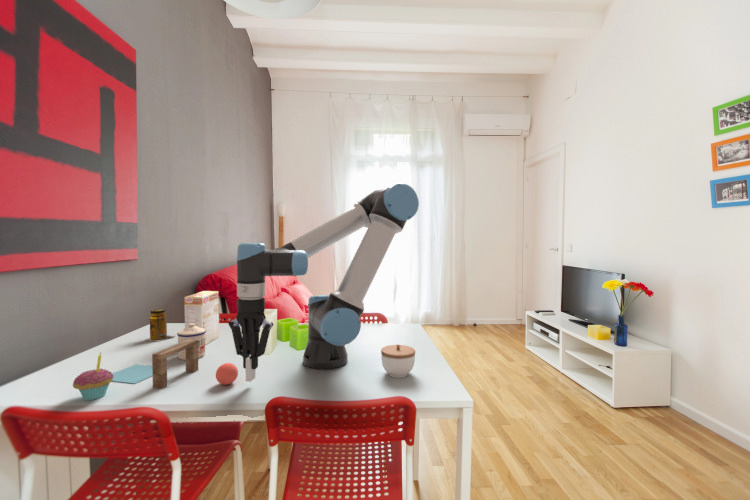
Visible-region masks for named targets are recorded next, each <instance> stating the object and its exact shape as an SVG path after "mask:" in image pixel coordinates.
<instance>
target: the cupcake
mask: <svg viewBox="0 0 750 500" xmlns="http://www.w3.org/2000/svg"><path fill="white" fill-rule="evenodd" d="M101 362H102V352H100V353H99V354H98V355H97V363H96V369H92V370H91V369H90V370H86V371H83V372H81V373H80V374H79V375H77V376H76V377H75V378H74V379H73V383H72V388H74V389H76V390H78V391H79V392H80V395H81V397H82V400H84V401H93V400H94V399H95V400H98V398H99V399H101V398H103V397H105V396H106V394H107V390H108V388H109V386H110V383H113V381H112V379H113V377H114V376H113V373H112V371H109V370H107V369H106V368H104V369H103V368H101ZM95 400H94V401H95Z"/></svg>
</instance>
